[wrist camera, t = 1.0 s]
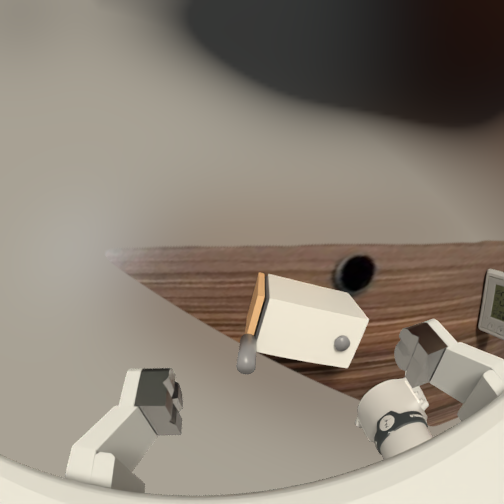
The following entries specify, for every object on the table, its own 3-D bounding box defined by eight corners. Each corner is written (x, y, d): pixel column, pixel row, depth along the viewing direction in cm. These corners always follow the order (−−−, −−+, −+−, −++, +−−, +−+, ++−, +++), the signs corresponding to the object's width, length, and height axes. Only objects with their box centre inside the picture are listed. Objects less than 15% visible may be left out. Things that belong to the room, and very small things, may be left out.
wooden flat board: (268, 274, 51) (270, 319, 33) (255, 318, 53) (252, 376, 35) (255, 271, 51) (250, 314, 33) (243, 315, 53) (234, 373, 34)
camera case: (348, 293, 51) (370, 321, 39) (330, 338, 53) (346, 375, 41) (266, 273, 51) (267, 299, 39) (252, 322, 53) (249, 358, 41)
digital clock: (485, 264, 49) (514, 277, 39) (505, 267, 49) (532, 278, 38) (468, 328, 52) (492, 347, 42) (488, 327, 52) (512, 344, 42)
